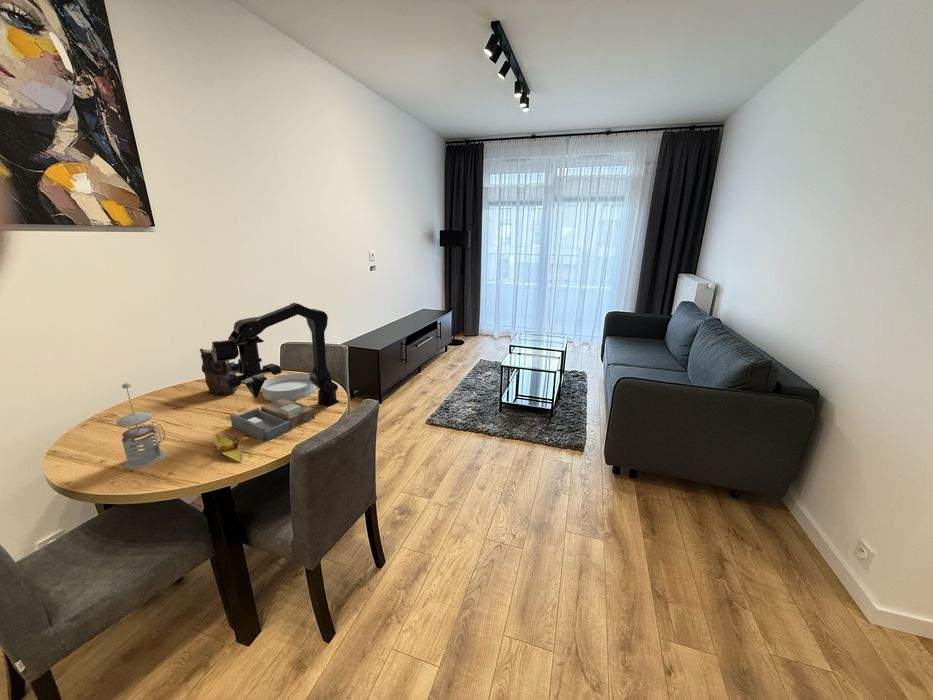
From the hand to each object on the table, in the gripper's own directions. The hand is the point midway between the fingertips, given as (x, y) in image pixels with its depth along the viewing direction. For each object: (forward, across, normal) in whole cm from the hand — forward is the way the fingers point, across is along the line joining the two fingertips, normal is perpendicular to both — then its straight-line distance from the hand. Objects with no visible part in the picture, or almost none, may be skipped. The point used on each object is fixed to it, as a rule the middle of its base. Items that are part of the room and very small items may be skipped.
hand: (255, 397), depth 130 cm
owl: (+11, -10, -42) cm, 45 cm away
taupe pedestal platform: (+11, -9, +4) cm, 15 cm away
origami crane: (+11, +16, +10) cm, 22 cm away
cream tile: (+8, +3, +1) cm, 9 cm away
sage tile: (+7, -8, +8) cm, 13 cm away
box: (+11, +1, +4) cm, 11 cm away
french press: (+11, +31, -6) cm, 33 cm away
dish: (+11, -25, -18) cm, 33 cm away
